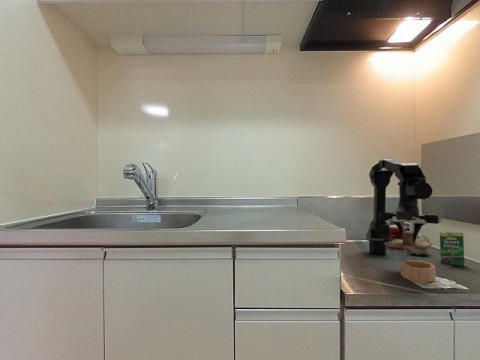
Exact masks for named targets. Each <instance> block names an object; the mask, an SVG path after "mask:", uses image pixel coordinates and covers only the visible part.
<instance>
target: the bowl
mask: <svg viewBox="0 0 480 360" xmlns="http://www.w3.org/2000/svg"><path fill="white" fill-rule="evenodd" d="M400 263H401V269H400V270H401V272H400V273H401V276H402V278H404V279H406V280H409V281H414V282H419V283H431V282H435V281H436V266H435V265H434V264H433V263H430V262H426V261H421V260H410V259H409V260H403V261H401V262H400Z"/></svg>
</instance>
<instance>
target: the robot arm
mask: <svg viewBox="0 0 480 360" xmlns="http://www.w3.org/2000/svg"><path fill="white" fill-rule="evenodd" d="M368 175H369V176H368V177H369V178H370V184H371V185H372V186H373V218H372V220H371V222H370V223H369V226H368V227H369V228H368V230H367V232H366V234H365V238H366V241H367V242H368V245H369V246H368V247H369V252H368V254H369V255H373V256H375V255H376V256H381V257H382V256H386V255H388V246H386V244H387V243H389V238H390V230H389V228H390V227H389V226H390V224H388V223H387V221H389V220H391V223H392V224H394V225H396V226H397V227H398V229H399V231H400V234H401V236H402V239H403V232H405V226H406V225H405V221H407V222H408V221H415V222H414V223H413V226H414V227H413V232H414V236H413V240H414V242H415V241H416V239H417V236H418V235H419V234H420V232H421V229H422V227H423V226H425V225H427V224H434V225H436V224H440V223H442V222H441V221H442V218H441V217H442V216H441V215H440V214H439V213H425V214H424V215H421V214H420V209H419V205H418V204H419V202H418V201H419V200H427V199H429V198H430V197H432V194H433V188H432V186H431V184H430V183H428V182H427V179H426V176H425V174H424V172H423V170H422V168H421V167H420V165H419V164H418V163H415V162H414V163H404V162H400V161H397V160H395V159H393V158H382V159H380V160H379V161H378V163H376V164H374V165H373V166H372V167H371V169H370V171H369V173H368ZM393 175H394V176H395V177H396V178H397V179H398V180H399V182H397V186H399V188H398V189H399V191H398V192H399V196H398V197H399V201H398V206H397V207H396V209H395V211H386V203H387V202H386V199H387V197H386V196H387V195H386V193H387V190H386V189H387V187H388V186H389V185H390V183H391V178H392V177H393Z"/></svg>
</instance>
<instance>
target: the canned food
mask: <svg viewBox="0 0 480 360" xmlns="http://www.w3.org/2000/svg"><path fill="white" fill-rule="evenodd" d="M389 227H390V228H389V230H390V238H389V242H391V241H393V240H395V239H400V240H403V239H402V236H401V234H400V231H399V229H398V227H397V226H396V224H391V225H390V224H389ZM405 231H407V226H406V225H405ZM389 242H388V243H389ZM389 248H390V249H391V250H392V249H393V250H397V251H398V250H399V251H401V250H402V251H404V250H406V248H398V247H390V246H389Z"/></svg>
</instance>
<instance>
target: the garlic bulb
mask: <svg viewBox="0 0 480 360" xmlns="http://www.w3.org/2000/svg"><path fill="white" fill-rule="evenodd" d="M416 241H419V242H429V243H430V238H429V237H428V236H426V235H425V234H424V233H420V232H419V234H418V236H417V239H416ZM430 249H431V246H430V247H429V248H428V249H426V250H425V251H423V250H415V249H408V250H409V251H411V252H412V254H415V255H417V256H420V255H425V254H427V253H428V252H429V250H430Z"/></svg>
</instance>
